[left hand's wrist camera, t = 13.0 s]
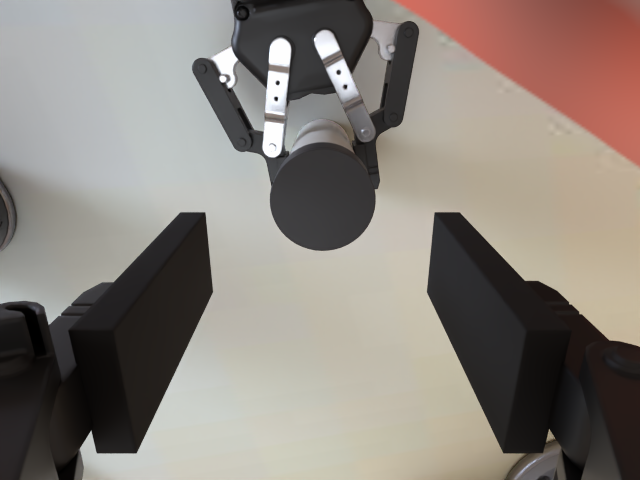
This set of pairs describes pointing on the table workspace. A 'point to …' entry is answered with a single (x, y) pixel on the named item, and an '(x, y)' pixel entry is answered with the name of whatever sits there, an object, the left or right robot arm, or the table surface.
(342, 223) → the lid
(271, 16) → the right robot arm
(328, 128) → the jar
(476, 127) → the table surface
